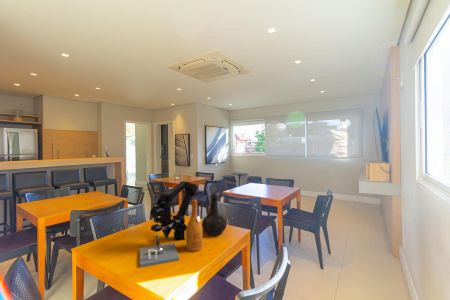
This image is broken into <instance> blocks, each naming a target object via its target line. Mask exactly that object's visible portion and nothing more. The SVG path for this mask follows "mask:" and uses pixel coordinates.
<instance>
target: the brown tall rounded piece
mask: <svg viewBox="0 0 450 300" xmlns="http://www.w3.org/2000/svg"><path fill="white" fill-rule="evenodd" d="M197 207H198V200H197V199H191V216H190V218H189V220H188V223H187V225H186V226H187V229H186V230H185V233H186V234H185V242H186V249H187V250H188V251H190V252H198V251H200V250H201V249H202V248H203V228H202V221H201V217H200V215H198V212H197V211H198V210H197Z"/></svg>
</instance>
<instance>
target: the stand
mask: <svg viewBox="0 0 450 300" xmlns="http://www.w3.org/2000/svg"><path fill="white" fill-rule="evenodd" d="M159 246H163V253H161V254H157V250H154V248H155V247H157V245H151V246H145V247H139V267H140V268H145V267H150V266H156V265H161V264H167V263H172V262H177V261H180V255H179V253H178V251H177V248H176V245H175V243H174V242H170V243H165V244H159ZM147 251H148V254H147ZM150 252H152V253H150ZM154 252H155V253H154Z"/></svg>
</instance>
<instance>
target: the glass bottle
mask: <svg viewBox="0 0 450 300" xmlns="http://www.w3.org/2000/svg"><path fill="white" fill-rule="evenodd" d="M209 197H210V208H209V213H208V215H207V216H205V217H204V218H203V219H202V221H201V226H202V231H203V232H204V233H206V234H207V235H209V236H218V235H221V234H222V233H223V232H224V231H225V230H226V228H227V223H228V222H227V220H226V218H225V217H224V216H223V215H220V214H219V208H218V198H219V196H218V194H217V193H212V194H210V196H209Z"/></svg>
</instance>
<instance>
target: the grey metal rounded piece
mask: <svg viewBox="0 0 450 300" xmlns="http://www.w3.org/2000/svg"><path fill="white" fill-rule="evenodd" d="M159 245H160V235H156V236H155V246H157V247H155V248H154V250H157V254H161V253H163V246H159ZM150 253H152V252H150ZM154 253H155V252H154ZM147 254H148V251H147Z"/></svg>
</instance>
